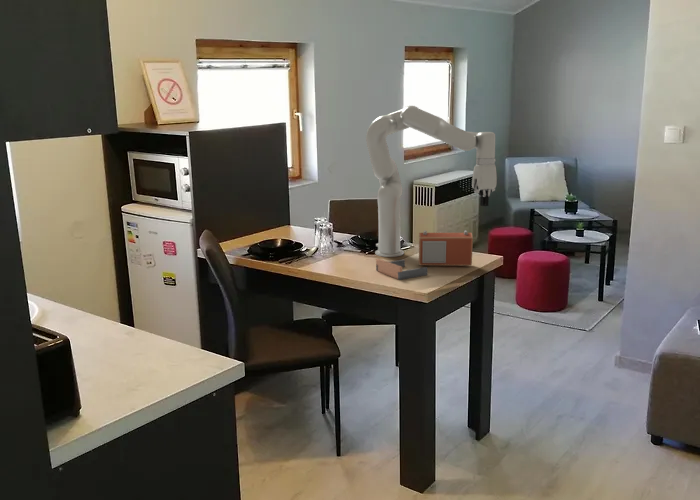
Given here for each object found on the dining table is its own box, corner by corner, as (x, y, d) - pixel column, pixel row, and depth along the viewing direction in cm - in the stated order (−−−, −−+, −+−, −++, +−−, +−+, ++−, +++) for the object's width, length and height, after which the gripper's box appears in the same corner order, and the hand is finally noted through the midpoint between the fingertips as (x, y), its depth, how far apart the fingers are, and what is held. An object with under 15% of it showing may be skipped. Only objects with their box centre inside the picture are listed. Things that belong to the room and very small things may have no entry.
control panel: (470, 262, 274) (471, 228, 268) (471, 269, 267) (473, 235, 261) (418, 262, 276) (418, 228, 269) (418, 269, 269) (419, 235, 263)
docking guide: (376, 271, 264) (376, 259, 263) (403, 266, 271) (403, 254, 270) (399, 279, 251) (399, 267, 250) (427, 274, 257) (427, 262, 256)
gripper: (492, 160, 280) (491, 203, 284) (465, 162, 272) (464, 206, 276) (505, 161, 274) (503, 205, 278) (477, 163, 266) (476, 208, 270)
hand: (484, 205), depth 277 cm, fingers closed
